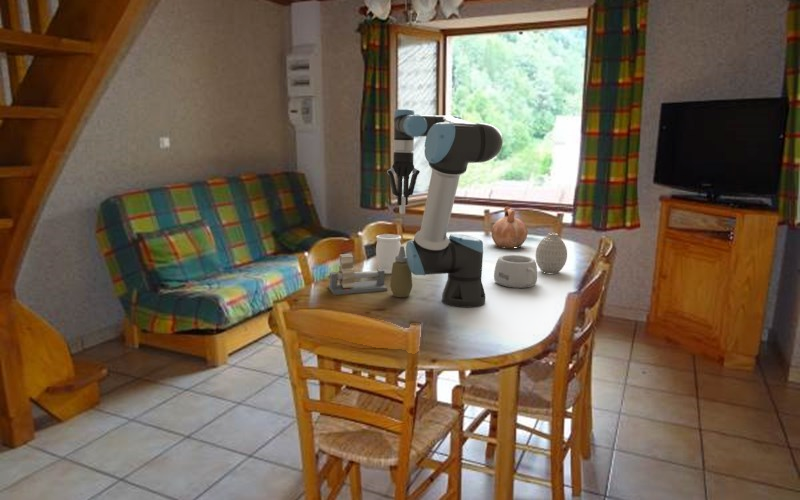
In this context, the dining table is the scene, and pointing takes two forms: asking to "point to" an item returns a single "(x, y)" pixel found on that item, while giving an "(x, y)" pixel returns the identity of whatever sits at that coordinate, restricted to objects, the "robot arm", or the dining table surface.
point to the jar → (387, 251)
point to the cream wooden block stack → (346, 270)
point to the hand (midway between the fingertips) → (402, 213)
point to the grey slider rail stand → (358, 283)
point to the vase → (551, 254)
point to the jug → (509, 230)
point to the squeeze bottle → (401, 276)
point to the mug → (515, 271)
